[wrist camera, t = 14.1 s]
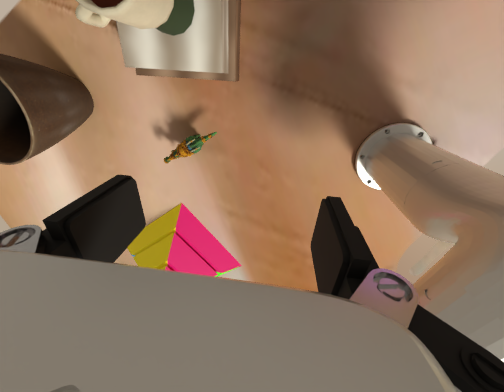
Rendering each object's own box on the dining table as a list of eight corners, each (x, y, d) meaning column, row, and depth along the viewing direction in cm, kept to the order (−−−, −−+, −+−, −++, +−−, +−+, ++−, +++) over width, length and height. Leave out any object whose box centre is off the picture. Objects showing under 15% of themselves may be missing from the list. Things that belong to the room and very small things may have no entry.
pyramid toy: (122, 239, 60) (81, 281, 48) (182, 198, 51) (151, 237, 38) (183, 291, 68) (162, 338, 56) (245, 264, 59) (236, 314, 47)
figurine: (170, 146, 44) (149, 160, 37) (218, 119, 40) (205, 128, 33) (179, 159, 45) (161, 175, 38) (227, 133, 41) (216, 145, 34)
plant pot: (128, 120, 42) (55, 141, 28) (78, 148, 47) (-6, 178, 33) (72, 36, 36) (-57, 11, 22) (21, 77, 41) (-114, 78, 27)
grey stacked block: (241, -54, 29) (229, -96, 22) (238, 80, 37) (229, 81, 30) (129, -56, 30) (83, -96, 23) (149, 75, 38) (120, 74, 31)
